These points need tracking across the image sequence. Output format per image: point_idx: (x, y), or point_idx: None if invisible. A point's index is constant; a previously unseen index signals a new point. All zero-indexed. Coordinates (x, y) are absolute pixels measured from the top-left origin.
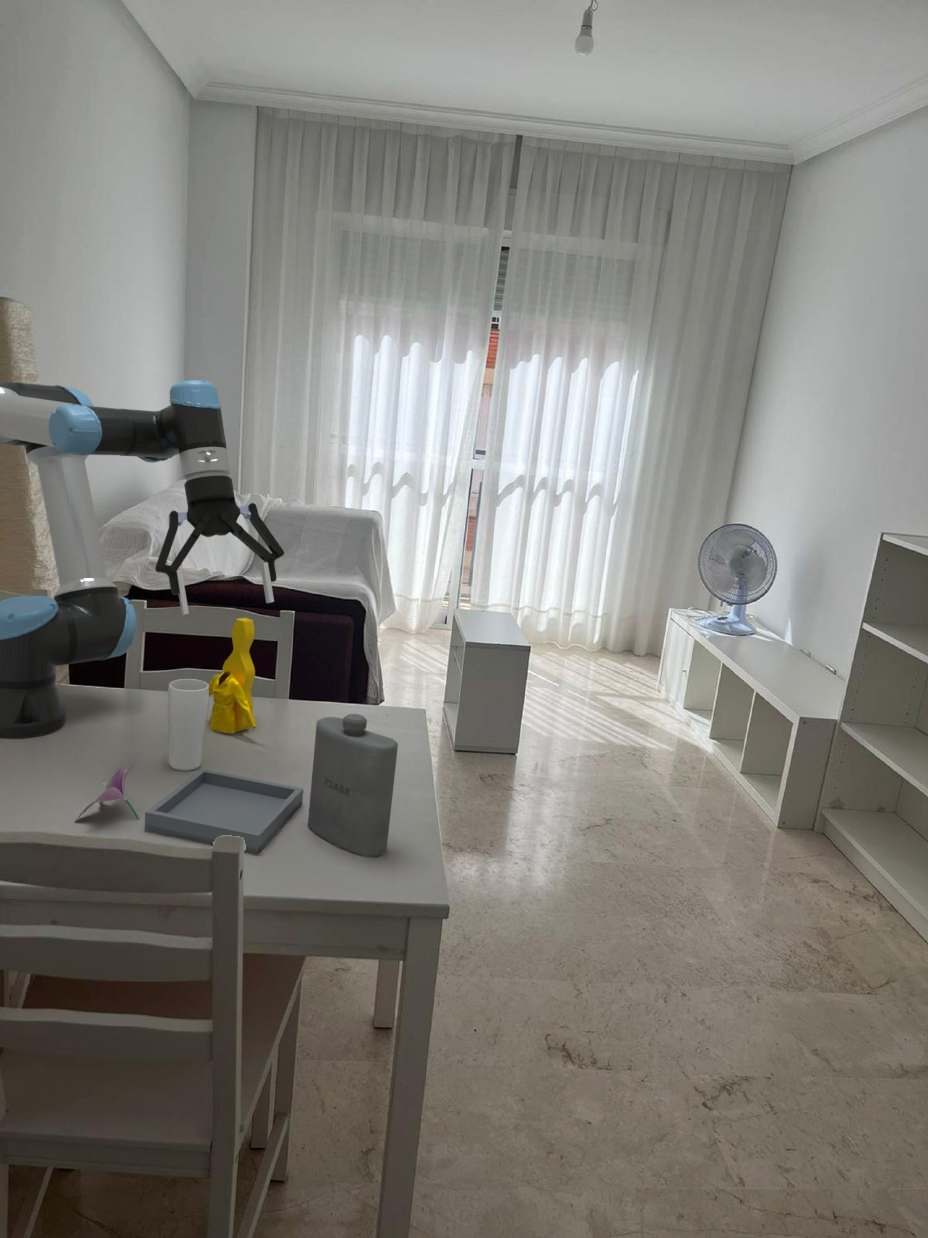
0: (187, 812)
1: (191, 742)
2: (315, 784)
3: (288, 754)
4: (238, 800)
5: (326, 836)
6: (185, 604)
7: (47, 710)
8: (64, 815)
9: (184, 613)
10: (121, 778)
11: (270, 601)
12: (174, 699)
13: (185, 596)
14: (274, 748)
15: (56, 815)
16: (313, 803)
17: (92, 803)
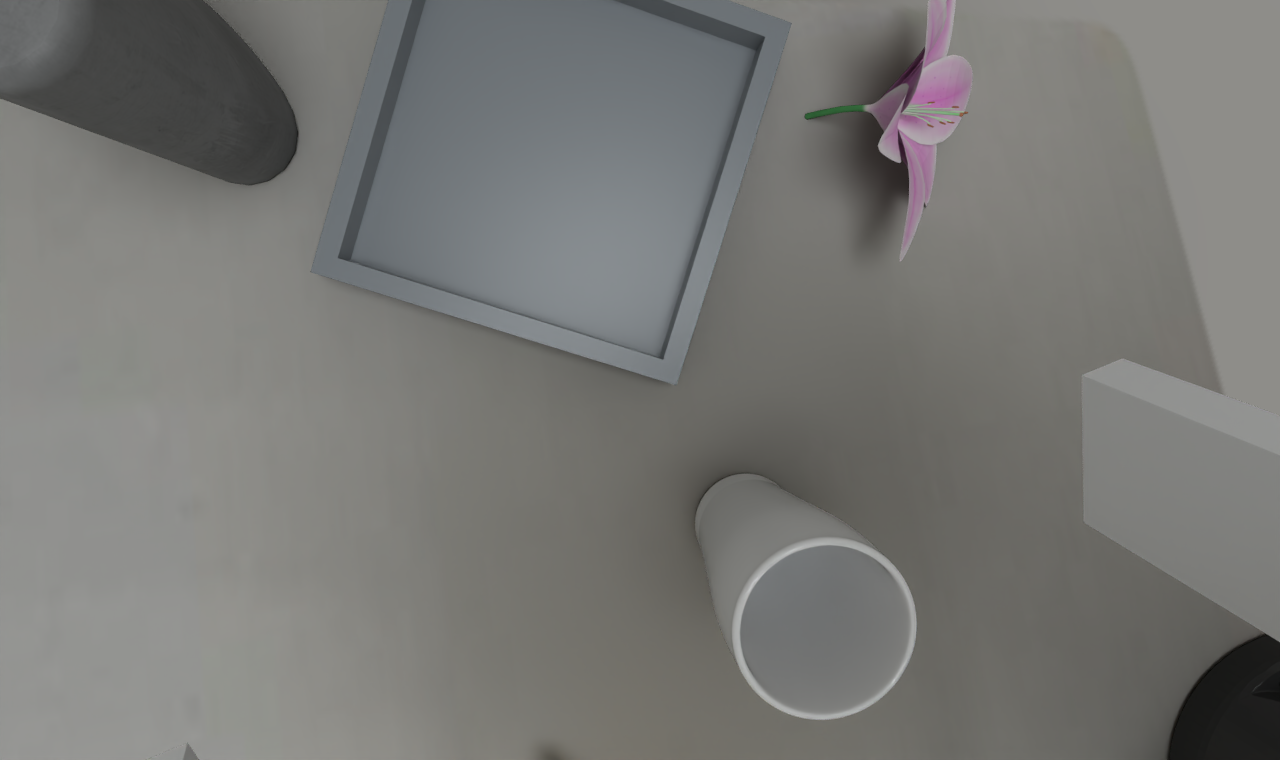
0: (673, 133)
1: (738, 495)
2: (209, 37)
3: (416, 681)
4: (531, 240)
5: (224, 21)
6: (1188, 404)
7: (1264, 737)
8: (1009, 119)
9: (1122, 365)
10: (909, 93)
11: (172, 754)
12: (861, 536)
13: (1272, 449)
14: (470, 724)
15: (1029, 116)
16: (245, 64)
17: (955, 70)
